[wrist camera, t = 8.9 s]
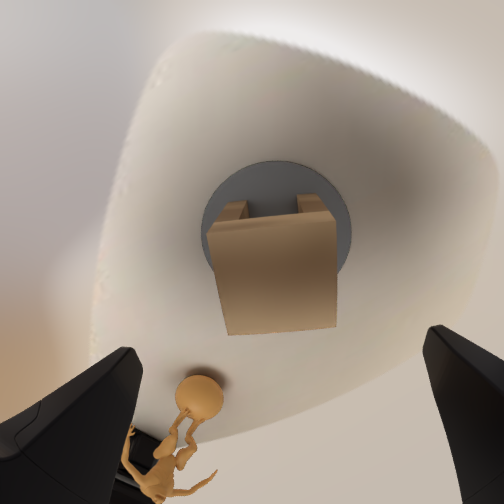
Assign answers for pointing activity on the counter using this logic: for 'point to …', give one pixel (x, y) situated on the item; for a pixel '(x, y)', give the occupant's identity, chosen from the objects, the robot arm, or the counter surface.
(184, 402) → the figurine
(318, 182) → the charcoal mat
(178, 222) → the counter surface
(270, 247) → the oak stool
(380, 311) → the counter surface
